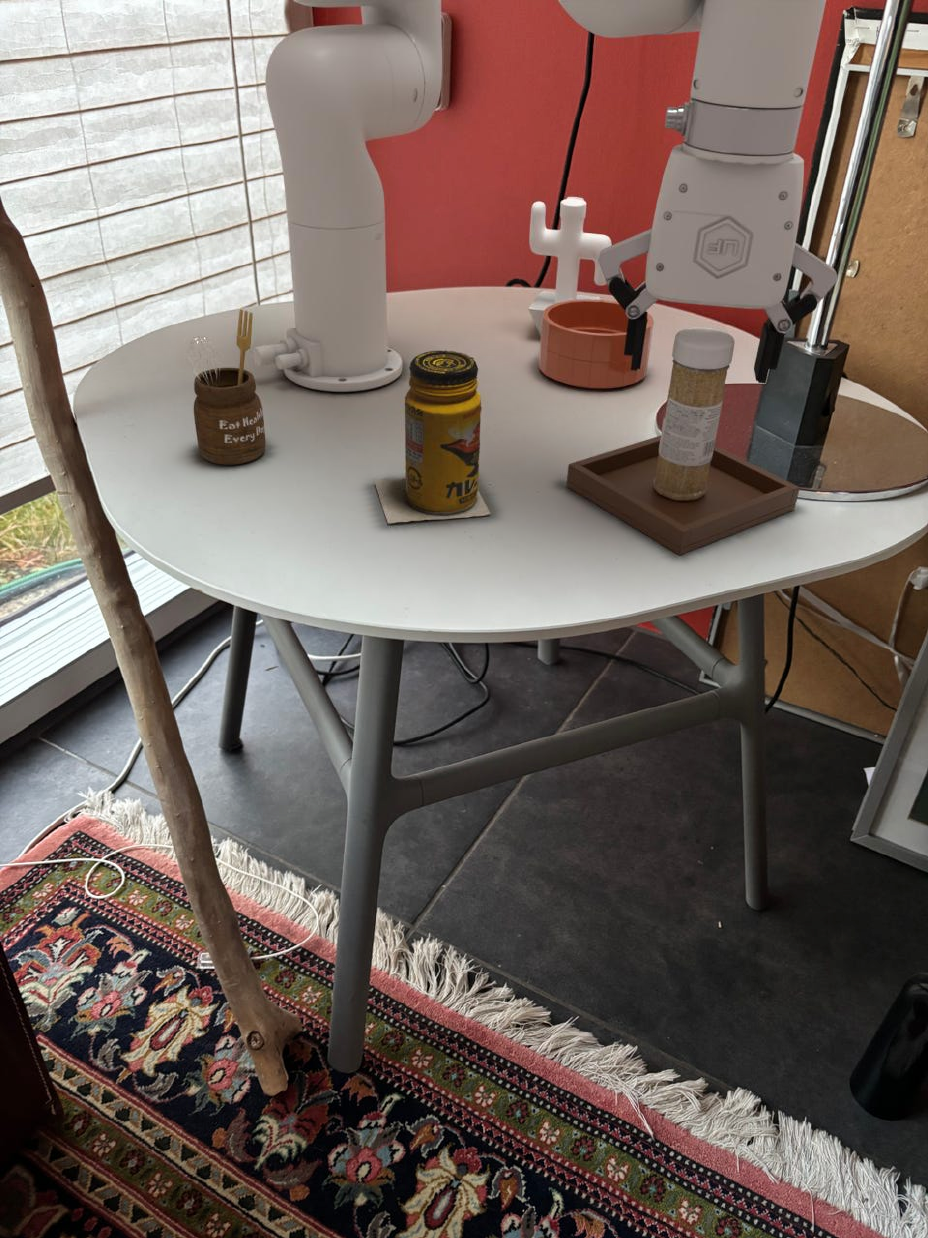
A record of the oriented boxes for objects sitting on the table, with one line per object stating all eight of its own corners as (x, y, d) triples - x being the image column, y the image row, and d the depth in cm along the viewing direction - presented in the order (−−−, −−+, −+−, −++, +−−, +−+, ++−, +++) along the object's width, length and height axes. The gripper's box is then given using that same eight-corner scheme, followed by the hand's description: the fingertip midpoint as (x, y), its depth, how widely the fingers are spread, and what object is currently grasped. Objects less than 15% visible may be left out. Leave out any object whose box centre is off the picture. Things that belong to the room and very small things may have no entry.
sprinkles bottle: (676, 473, 85) (701, 321, 78) (717, 493, 83) (748, 337, 75) (640, 488, 83) (663, 332, 75) (681, 509, 80) (709, 349, 72)
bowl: (586, 400, 100) (592, 342, 96) (517, 364, 107) (520, 310, 104) (667, 377, 105) (676, 322, 102) (596, 345, 113) (602, 293, 110)
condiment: (490, 515, 80) (497, 374, 73) (387, 525, 78) (384, 381, 71) (470, 475, 85) (474, 341, 78) (374, 483, 84) (369, 346, 77)
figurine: (596, 348, 112) (612, 210, 104) (517, 338, 114) (525, 202, 106) (606, 328, 118) (621, 196, 109) (530, 319, 120) (538, 189, 111)
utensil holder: (185, 453, 87) (164, 321, 80) (238, 431, 92) (223, 303, 85) (230, 473, 85) (212, 337, 78) (282, 449, 89) (271, 317, 82)
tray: (679, 555, 75) (683, 532, 74) (566, 486, 84) (568, 463, 83) (794, 509, 82) (800, 487, 81) (678, 449, 91) (681, 428, 90)
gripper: (611, 131, 65) (583, 377, 75) (881, 149, 63) (815, 400, 73) (616, 113, 71) (590, 343, 81) (862, 130, 69) (804, 364, 79)
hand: (697, 370), depth 77 cm, fingers open, 9 cm apart
